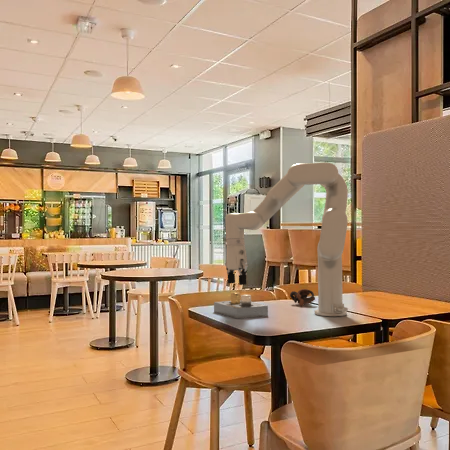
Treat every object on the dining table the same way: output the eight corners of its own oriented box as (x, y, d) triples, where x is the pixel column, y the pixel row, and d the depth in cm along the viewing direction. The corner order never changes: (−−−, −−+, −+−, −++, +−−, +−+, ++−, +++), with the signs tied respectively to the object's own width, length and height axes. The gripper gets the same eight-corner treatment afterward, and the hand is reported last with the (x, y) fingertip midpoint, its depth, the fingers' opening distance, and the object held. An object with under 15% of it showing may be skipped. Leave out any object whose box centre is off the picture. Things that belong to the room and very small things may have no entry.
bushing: (242, 312, 195) (242, 293, 195) (233, 313, 193) (233, 293, 193) (237, 311, 198) (237, 292, 199) (229, 312, 197) (229, 292, 197)
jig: (267, 315, 187) (267, 295, 187) (236, 318, 180) (236, 297, 180) (243, 309, 204) (242, 290, 205) (214, 311, 198) (213, 292, 198)
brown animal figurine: (316, 305, 219) (318, 290, 215) (309, 316, 212) (312, 302, 208) (291, 297, 224) (293, 283, 220) (284, 308, 217) (286, 294, 213)
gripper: (253, 242, 191) (255, 284, 190) (233, 242, 206) (235, 282, 205) (237, 242, 187) (239, 286, 187) (218, 243, 203) (219, 283, 202)
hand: (237, 283), depth 196 cm, fingers open, 9 cm apart
